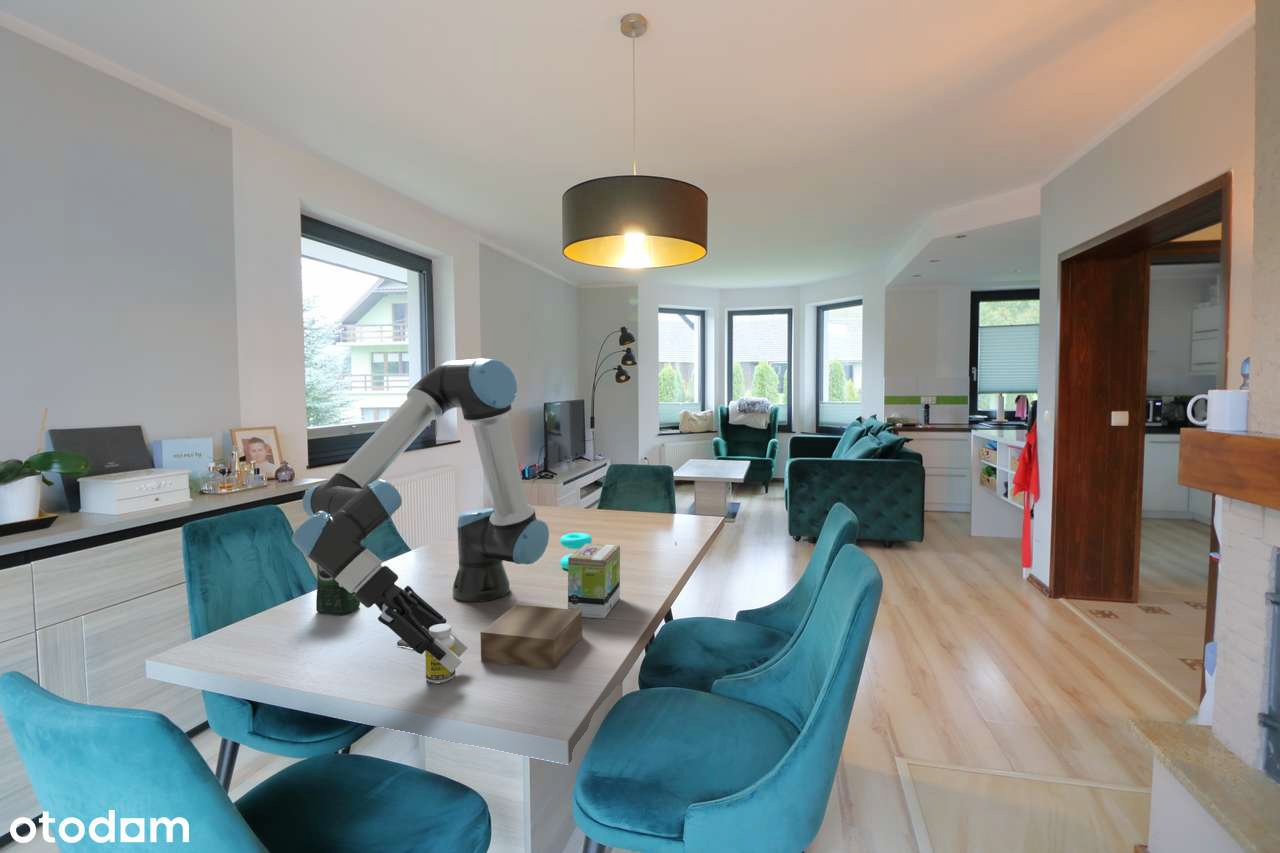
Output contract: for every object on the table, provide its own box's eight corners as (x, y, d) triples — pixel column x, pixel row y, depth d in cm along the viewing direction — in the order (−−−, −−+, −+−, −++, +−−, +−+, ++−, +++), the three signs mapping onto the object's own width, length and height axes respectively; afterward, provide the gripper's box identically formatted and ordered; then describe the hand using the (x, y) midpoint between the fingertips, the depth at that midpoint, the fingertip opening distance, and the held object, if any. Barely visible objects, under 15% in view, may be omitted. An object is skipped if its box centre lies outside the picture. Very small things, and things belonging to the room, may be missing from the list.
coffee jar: (365, 605, 148) (363, 535, 147) (344, 617, 140) (342, 542, 139) (332, 603, 150) (330, 533, 149) (310, 614, 142) (307, 541, 141)
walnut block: (481, 660, 116) (480, 632, 116) (516, 629, 132) (516, 604, 132) (554, 669, 113) (553, 639, 112) (581, 636, 128) (581, 610, 128)
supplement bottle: (427, 687, 106) (426, 635, 106) (424, 674, 111) (422, 625, 110) (458, 680, 109) (456, 629, 108) (453, 668, 113) (451, 619, 113)
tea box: (606, 619, 138) (605, 559, 137) (566, 616, 140) (566, 557, 139) (620, 598, 153) (620, 543, 152) (584, 595, 155) (584, 542, 154)
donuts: (596, 533, 184) (584, 540, 175) (596, 563, 185) (585, 572, 175) (568, 531, 187) (555, 538, 178) (568, 561, 188) (555, 569, 178)
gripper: (371, 578, 116) (456, 652, 119) (333, 612, 98) (435, 698, 101) (397, 551, 117) (481, 626, 119) (365, 580, 98) (465, 667, 101)
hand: (460, 659), depth 110 cm, fingers closed on supplement bottle, 5 cm apart
